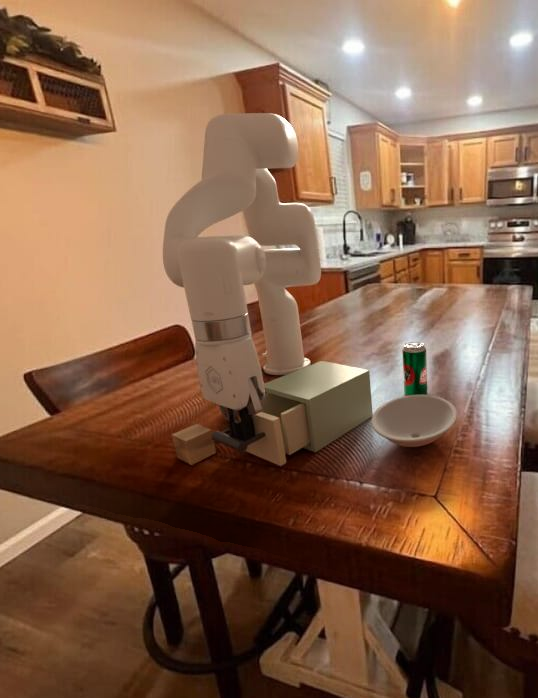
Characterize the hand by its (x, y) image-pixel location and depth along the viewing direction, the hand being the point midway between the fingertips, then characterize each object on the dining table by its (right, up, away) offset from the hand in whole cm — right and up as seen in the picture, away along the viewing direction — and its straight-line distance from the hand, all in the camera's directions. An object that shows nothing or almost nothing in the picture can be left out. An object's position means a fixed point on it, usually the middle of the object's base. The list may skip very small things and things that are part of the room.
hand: (244, 440), depth 64 cm
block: (-10, -4, +6) cm, 12 cm away
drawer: (+4, -2, +6) cm, 8 cm away
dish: (+27, -1, +7) cm, 28 cm away
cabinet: (+9, 0, +14) cm, 17 cm away
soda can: (+28, +5, +25) cm, 38 cm away
